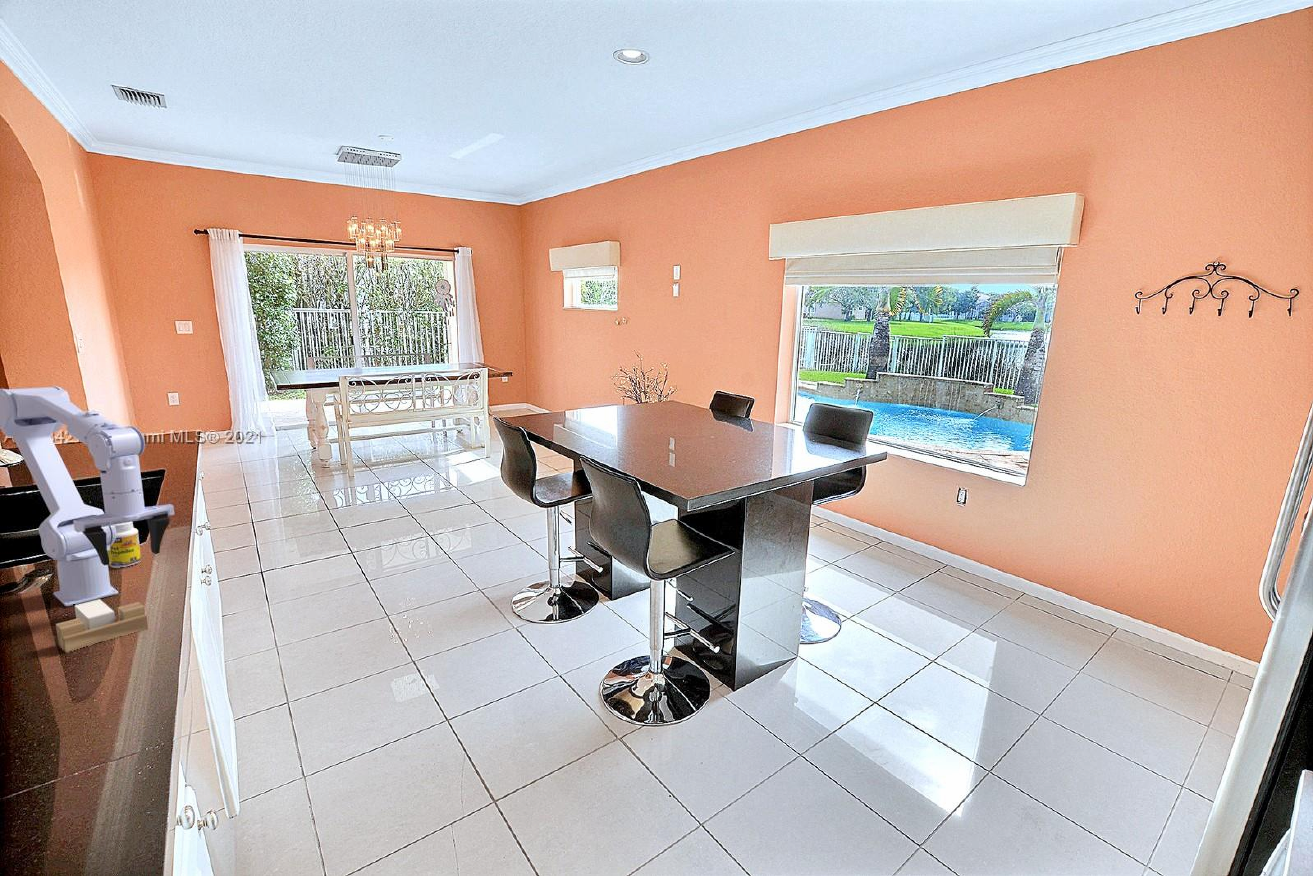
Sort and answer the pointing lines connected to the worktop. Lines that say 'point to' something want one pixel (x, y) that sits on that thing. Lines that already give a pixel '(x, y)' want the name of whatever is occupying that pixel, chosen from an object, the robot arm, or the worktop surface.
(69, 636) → the tan bridge
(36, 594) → the worktop surface
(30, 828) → the worktop surface
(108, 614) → the white block
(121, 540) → the supplement bottle
